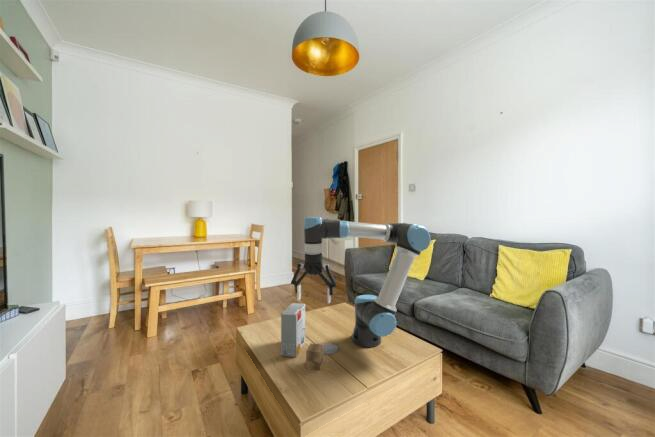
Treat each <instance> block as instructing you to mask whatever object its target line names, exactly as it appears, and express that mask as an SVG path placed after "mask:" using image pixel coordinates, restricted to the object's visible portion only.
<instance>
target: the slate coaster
mask: <svg viewBox="0 0 655 437" xmlns="http://www.w3.org/2000/svg"><path fill="white" fill-rule="evenodd" d="M322 345H323V355H333V354H336V353H337V352H339V347H338V346H337V344H334V343H331V342H330V343H324V344H322Z"/></svg>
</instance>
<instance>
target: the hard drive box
mask: <svg viewBox="0 0 655 437" xmlns="http://www.w3.org/2000/svg"><path fill="white" fill-rule="evenodd" d="M280 322H281V324H280V330H281V331H280V355H281V356H282V357H290V358H291V357H293V358H297V356H298V355H299V353H300V352H301V350H302V348H303V346H304V344H305V342H306V304H305V303H298V302H297V303H296V302H291V303H290V304H289V306H288V307H286V309H285V310H284V311H283V312H282V313H281V314H280Z"/></svg>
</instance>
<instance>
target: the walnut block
mask: <svg viewBox="0 0 655 437" xmlns="http://www.w3.org/2000/svg"><path fill="white" fill-rule="evenodd" d="M305 352H306V353H305V360H306V364H305V366H306V367H305V368H306V369H308V370H315V371H321V368H322V366H323V364H324V353H323V344H318V343H310V344H309V345H308V347H307V348H306V351H305Z"/></svg>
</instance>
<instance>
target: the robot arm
mask: <svg viewBox="0 0 655 437" xmlns="http://www.w3.org/2000/svg"><path fill="white" fill-rule="evenodd" d="M303 223H304V224H303V225H304V226H303V229H304V230H303V231H304V232H303V233H304V236H303V238H304V252H305V253H304V263H302V262H299V263H298V264H297V268H296V270H295V273H294V275H293V277H292V279H291V281H290V284H291V285H294V292H295V293H296V300H297V302H300V301H301V300H302V284H301V282H302V281H303V280H304V278H305V277H307V275H308V274H309V275H314V276H316V275H317V276H319V277H320V279H322V281H324V283H325V284H326V285H327V288H326V290H327V295H326V296H327V304H330V303H331V301H332V297H331V296H332V295H333V294H334V288H336V287H337V286H338V283H337V280H336V279H335V276H334V275H333V272H332V270H331V266H330V264H329V263H327V264H323V253H322V252H323V239H343V238H348V237H350V238H361V239H362V238H364V239H373V240H374V239H375V240H382V241H383V242H385V243H387V242H388V243H391V244H395V249H396V253H395V254H394V258H393V260H392V262H391V265H390V267H389V270H388V272H387V274H386V277H385V279H384V282H383V284H382V287H381V288H380V292H379V294H378V296H377V295H373V294H361V295H358V296H356V297H355V300H354V314H355V315H354V319H355V320H354V322H355V323H354V327H353V330H352V332H351V340H352V342H353V343H354V345H356V346H359V347H362V348H363V347H364V348H374V347H377V346H379V345H380V344H381V343H382V337H387V336H389V335H392V333H393V332H394V331H395V330H396V328H397V319H396V314H397V307H396V305H397V302H398V299H399V298H400V294H401V293H402V290H403V287H404V285H405V283H406V281H407V278H408V275H409V273H410V270H411V268H412V265H413V263H414V261H415V259H416V258H418V257H420V256H421V253H422V252H424V251H425V250H427V249H428V248H429V246H430V245H431V244H430V243H431V241H432V240H431V234H430V232H429V230H428V228H426V227H425V226H424V225H420V224H416V223H415V224H414V223H407V222H399V223H398V222H397V223H396V222H395V223H388V222H385V223H383V224H379V223H370V222H359V221H357V222H356V221H348V220H337V219H329V218H322V217H321V216H307V217H305V218H304V222H303ZM303 268H304V270H305V271H304V272H303V273H302V275H300V273H301V271H302V269H303ZM323 269H324V270H325V272H326V274H325V272H324V270H323ZM299 275H300V277H299ZM298 277H299V278H298ZM297 279H298V280H297Z"/></svg>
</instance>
